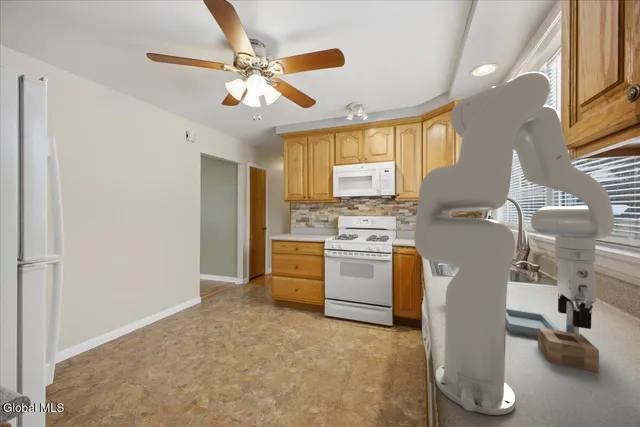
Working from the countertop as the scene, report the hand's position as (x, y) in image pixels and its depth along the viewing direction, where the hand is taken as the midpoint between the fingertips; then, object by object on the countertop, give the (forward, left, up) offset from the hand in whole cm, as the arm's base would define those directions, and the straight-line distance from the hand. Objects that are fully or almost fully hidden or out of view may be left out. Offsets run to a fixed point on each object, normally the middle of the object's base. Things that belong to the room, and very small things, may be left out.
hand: (573, 319), depth 68 cm
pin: (0, 0, -5) cm, 5 cm away
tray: (+4, +9, -5) cm, 11 cm away
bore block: (-12, +5, -5) cm, 14 cm away
